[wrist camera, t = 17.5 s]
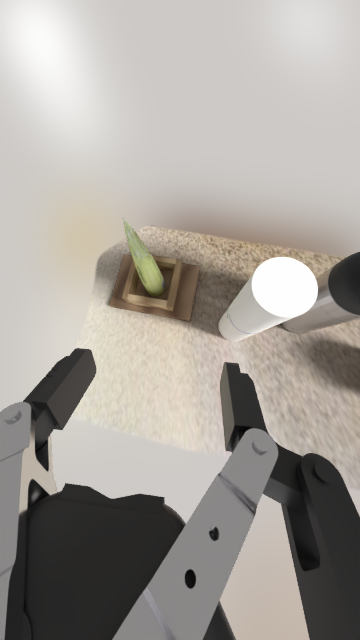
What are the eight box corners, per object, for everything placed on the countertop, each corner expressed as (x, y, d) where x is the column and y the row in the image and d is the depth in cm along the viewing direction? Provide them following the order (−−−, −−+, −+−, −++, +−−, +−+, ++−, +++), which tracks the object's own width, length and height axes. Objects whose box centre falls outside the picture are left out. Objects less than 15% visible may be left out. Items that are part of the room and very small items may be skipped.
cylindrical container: (224, 345, 45) (266, 325, 20) (214, 316, 46) (242, 267, 22) (253, 336, 45) (329, 306, 20) (242, 308, 46) (301, 249, 22)
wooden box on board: (199, 269, 49) (201, 257, 44) (189, 321, 46) (189, 315, 41) (125, 257, 51) (118, 245, 45) (111, 306, 48) (102, 300, 43)
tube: (140, 291, 47) (107, 244, 28) (149, 274, 48) (122, 216, 29) (161, 299, 46) (141, 256, 27) (169, 281, 47) (156, 227, 28)
